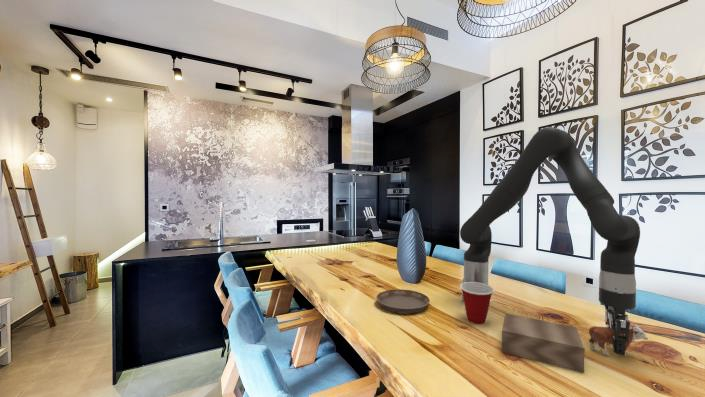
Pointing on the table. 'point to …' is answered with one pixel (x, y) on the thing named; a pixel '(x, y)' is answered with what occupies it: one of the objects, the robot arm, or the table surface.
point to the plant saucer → (403, 301)
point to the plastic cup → (476, 301)
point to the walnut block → (543, 342)
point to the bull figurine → (606, 336)
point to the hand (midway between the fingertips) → (616, 349)
